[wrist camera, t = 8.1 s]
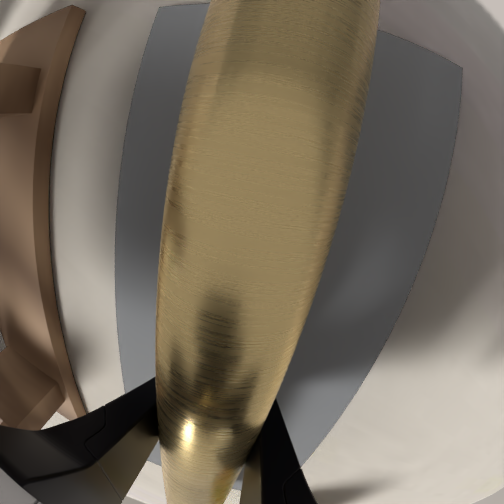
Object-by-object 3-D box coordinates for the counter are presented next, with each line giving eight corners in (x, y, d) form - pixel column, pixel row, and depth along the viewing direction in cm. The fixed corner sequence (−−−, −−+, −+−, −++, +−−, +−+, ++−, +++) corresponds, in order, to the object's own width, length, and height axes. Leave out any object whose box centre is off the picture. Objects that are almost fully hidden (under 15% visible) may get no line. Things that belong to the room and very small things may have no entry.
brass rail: (220, 500, 13) (209, 535, 10) (176, 487, 13) (162, 520, 10) (367, 13, 4) (397, -57, 2) (247, -8, 5) (213, -79, 2)
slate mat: (274, 491, 14) (273, 496, 14) (141, 451, 15) (138, 456, 15) (455, 71, 6) (462, 67, 5) (165, 12, 7) (159, 7, 6)
